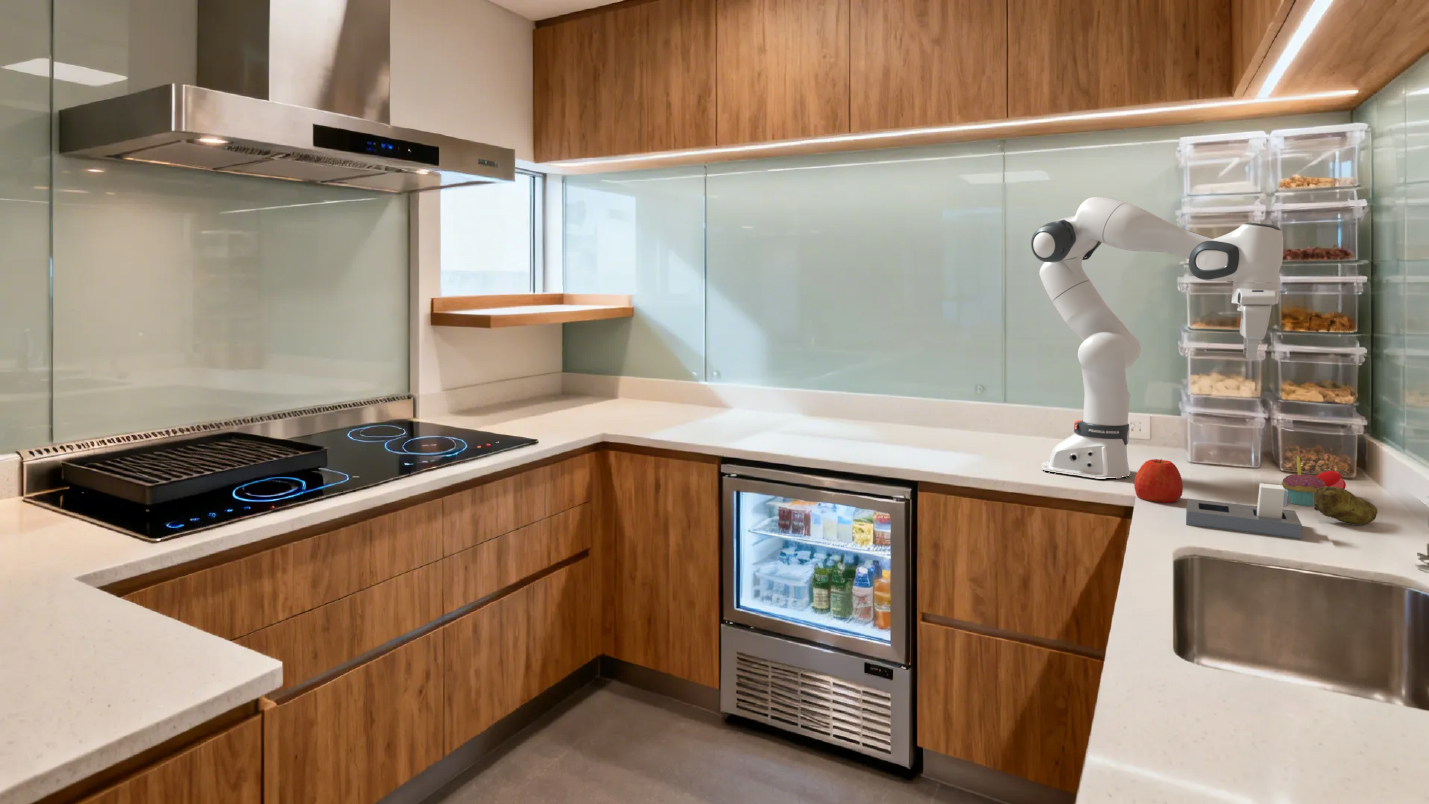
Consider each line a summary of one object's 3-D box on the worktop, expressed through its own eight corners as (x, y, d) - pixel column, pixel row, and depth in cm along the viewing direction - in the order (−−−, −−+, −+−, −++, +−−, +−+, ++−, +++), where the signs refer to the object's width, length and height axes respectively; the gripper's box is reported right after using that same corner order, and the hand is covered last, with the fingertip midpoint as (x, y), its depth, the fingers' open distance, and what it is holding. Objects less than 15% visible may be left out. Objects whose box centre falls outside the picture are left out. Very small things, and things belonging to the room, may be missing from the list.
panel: (1185, 527, 173) (1187, 511, 172) (1185, 513, 183) (1186, 498, 183) (1300, 542, 163) (1301, 525, 162) (1293, 526, 173) (1294, 510, 173)
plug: (1257, 528, 170) (1261, 487, 168) (1255, 524, 173) (1259, 483, 172) (1284, 532, 168) (1288, 490, 166) (1282, 527, 171) (1286, 485, 170)
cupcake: (1291, 507, 188) (1296, 457, 187) (1272, 497, 197) (1277, 449, 195) (1332, 508, 187) (1338, 458, 185) (1311, 499, 195) (1316, 450, 194)
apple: (1140, 505, 190) (1144, 462, 188) (1126, 494, 200) (1130, 453, 198) (1188, 508, 188) (1192, 464, 186) (1171, 496, 198) (1175, 454, 196)
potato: (1389, 530, 170) (1393, 494, 169) (1318, 525, 174) (1322, 489, 173) (1369, 519, 178) (1374, 484, 177) (1302, 515, 182) (1306, 480, 181)
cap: (1330, 478, 203) (1310, 466, 203) (1352, 476, 197) (1331, 463, 197) (1320, 505, 201) (1300, 493, 201) (1342, 504, 195) (1321, 491, 195)
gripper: (1235, 295, 192) (1230, 353, 194) (1241, 296, 174) (1235, 360, 176) (1267, 295, 189) (1262, 354, 191) (1276, 296, 171) (1270, 361, 173)
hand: (1249, 357), depth 183 cm, fingers open, 8 cm apart
